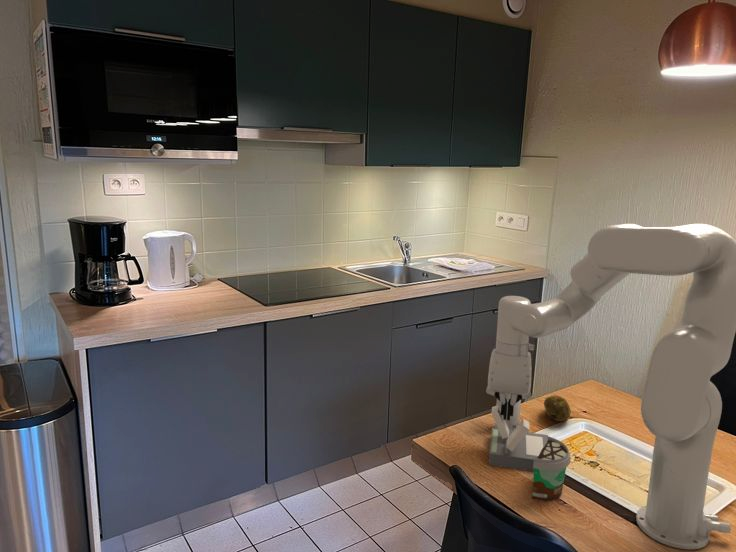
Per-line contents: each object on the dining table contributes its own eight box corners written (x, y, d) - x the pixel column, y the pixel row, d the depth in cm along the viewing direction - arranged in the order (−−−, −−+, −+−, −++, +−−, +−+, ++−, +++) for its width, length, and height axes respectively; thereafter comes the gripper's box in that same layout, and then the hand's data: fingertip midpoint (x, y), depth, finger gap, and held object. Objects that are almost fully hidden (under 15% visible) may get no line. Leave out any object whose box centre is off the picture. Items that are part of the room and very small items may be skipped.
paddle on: (511, 434, 138) (498, 404, 137) (511, 442, 133) (497, 412, 133) (505, 436, 138) (492, 406, 138) (504, 444, 134) (491, 414, 133)
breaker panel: (547, 445, 139) (548, 434, 139) (550, 473, 127) (551, 461, 126) (491, 438, 143) (491, 427, 142) (488, 464, 130) (489, 452, 129)
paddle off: (509, 447, 133) (529, 421, 130) (508, 456, 128) (529, 430, 126) (503, 443, 133) (523, 418, 130) (502, 452, 129) (523, 426, 126)
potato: (579, 416, 157) (581, 390, 155) (563, 432, 147) (566, 404, 145) (550, 408, 162) (552, 382, 160) (533, 423, 152) (536, 396, 150)
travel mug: (520, 438, 143) (526, 366, 139) (495, 435, 145) (499, 364, 141) (519, 427, 149) (524, 358, 145) (494, 425, 151) (498, 356, 147)
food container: (560, 511, 112) (564, 467, 111) (530, 502, 116) (533, 458, 114) (573, 483, 123) (576, 442, 121) (545, 475, 126) (548, 435, 124)
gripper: (543, 345, 133) (537, 415, 137) (481, 339, 137) (477, 407, 141) (544, 355, 126) (538, 429, 130) (479, 349, 130) (474, 420, 133)
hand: (506, 417), depth 135 cm, fingers closed
